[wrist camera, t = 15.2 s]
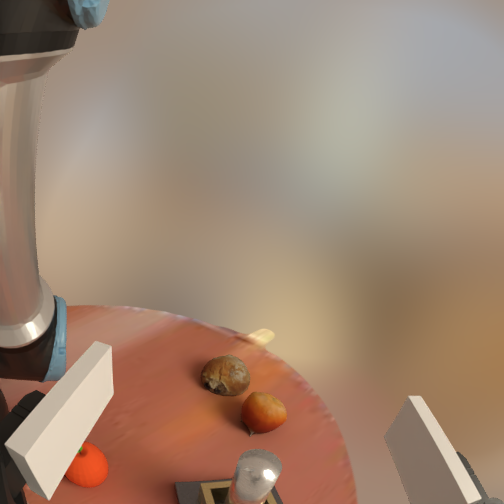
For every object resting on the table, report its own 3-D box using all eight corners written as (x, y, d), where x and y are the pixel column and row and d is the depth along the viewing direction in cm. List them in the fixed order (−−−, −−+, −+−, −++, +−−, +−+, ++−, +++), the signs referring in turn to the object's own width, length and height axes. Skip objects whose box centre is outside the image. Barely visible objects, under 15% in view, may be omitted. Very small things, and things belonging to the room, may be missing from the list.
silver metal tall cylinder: (224, 532, 25) (245, 484, 22) (215, 506, 29) (232, 450, 26) (259, 527, 27) (289, 476, 24) (248, 502, 31) (273, 445, 28)
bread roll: (246, 407, 58) (267, 378, 58) (208, 400, 52) (231, 369, 52) (224, 379, 66) (243, 353, 66) (189, 370, 60) (208, 340, 60)
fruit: (221, 414, 48) (248, 381, 49) (247, 419, 53) (272, 389, 54) (247, 444, 42) (277, 409, 43) (273, 445, 47) (300, 414, 48)
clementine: (50, 472, 26) (37, 443, 25) (77, 447, 33) (69, 418, 31) (94, 504, 24) (84, 479, 23) (119, 474, 31) (115, 447, 29)
